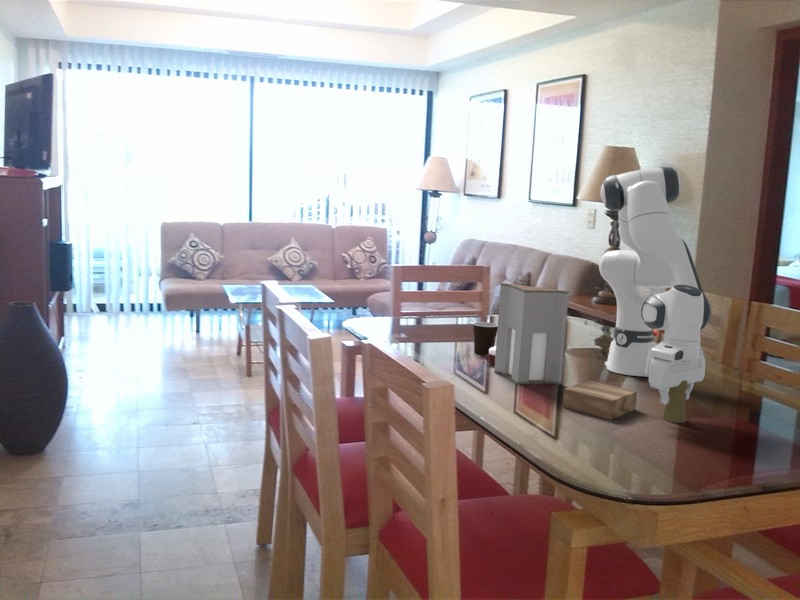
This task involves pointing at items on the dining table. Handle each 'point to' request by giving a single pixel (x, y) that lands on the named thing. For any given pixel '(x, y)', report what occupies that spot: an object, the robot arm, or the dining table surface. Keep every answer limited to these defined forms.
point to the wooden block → (599, 399)
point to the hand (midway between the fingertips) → (674, 401)
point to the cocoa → (491, 355)
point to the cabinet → (531, 334)
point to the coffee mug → (484, 337)
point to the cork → (676, 404)
